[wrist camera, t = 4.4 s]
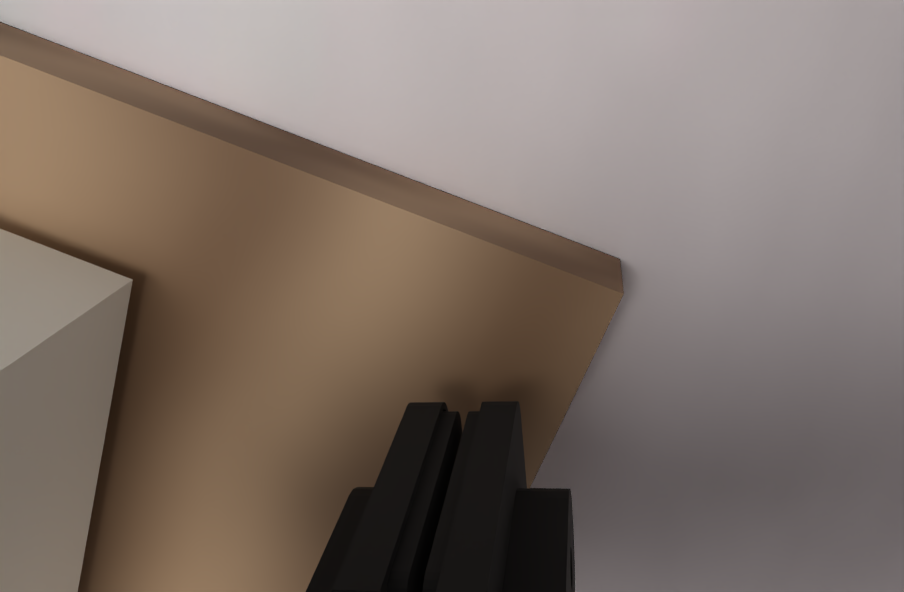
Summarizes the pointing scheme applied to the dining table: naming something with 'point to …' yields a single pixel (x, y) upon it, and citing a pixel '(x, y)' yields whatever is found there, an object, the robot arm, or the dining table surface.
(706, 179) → the dining table surface
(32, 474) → the handle
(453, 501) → the robot arm
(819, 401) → the dining table surface
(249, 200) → the board
